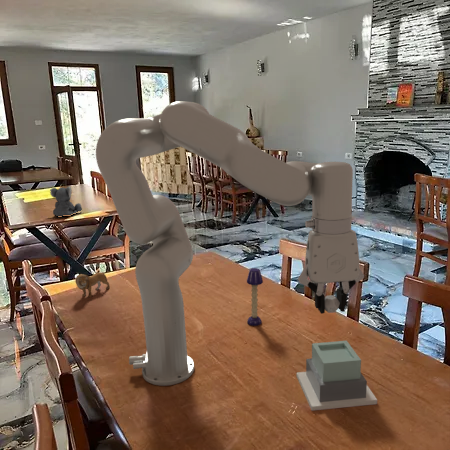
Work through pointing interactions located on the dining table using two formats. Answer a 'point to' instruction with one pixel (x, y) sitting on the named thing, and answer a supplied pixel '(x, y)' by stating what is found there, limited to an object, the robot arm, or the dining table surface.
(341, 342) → the stepped pedestal
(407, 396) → the dining table surface
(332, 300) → the game die
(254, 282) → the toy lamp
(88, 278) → the lion figurine
